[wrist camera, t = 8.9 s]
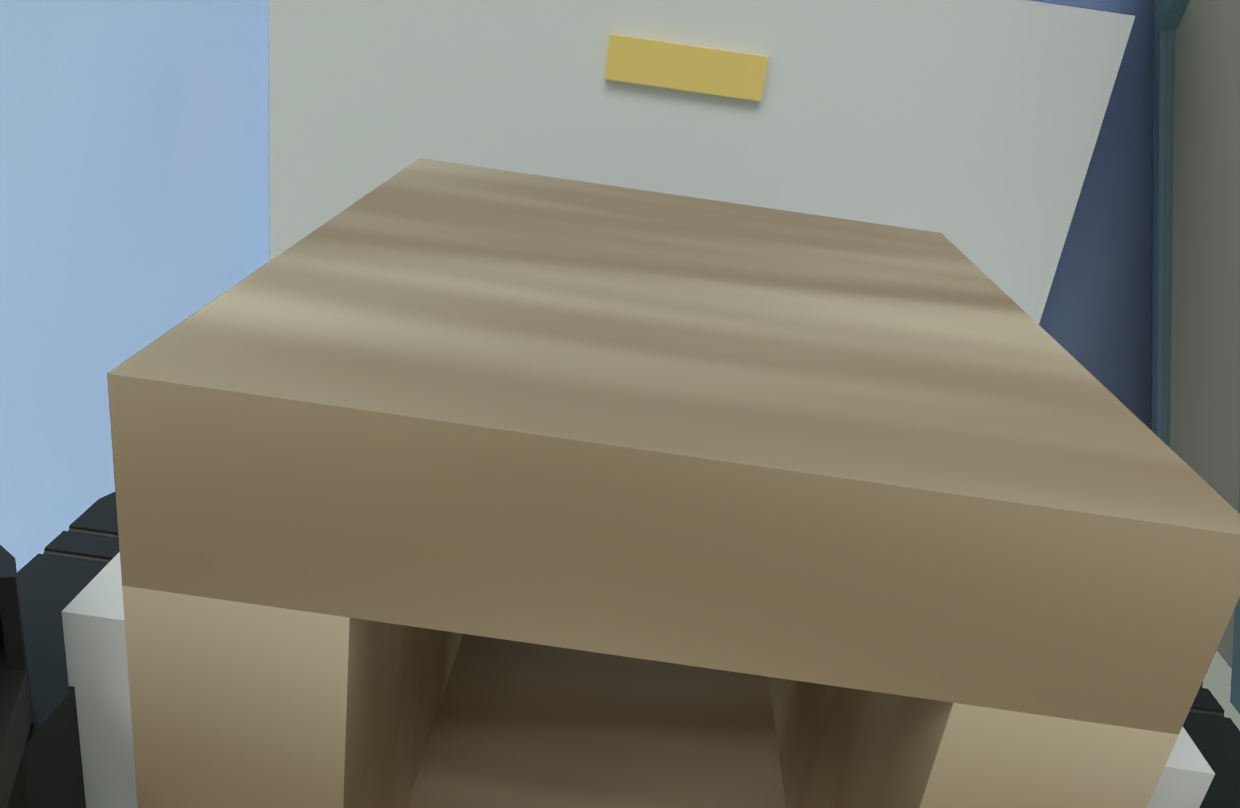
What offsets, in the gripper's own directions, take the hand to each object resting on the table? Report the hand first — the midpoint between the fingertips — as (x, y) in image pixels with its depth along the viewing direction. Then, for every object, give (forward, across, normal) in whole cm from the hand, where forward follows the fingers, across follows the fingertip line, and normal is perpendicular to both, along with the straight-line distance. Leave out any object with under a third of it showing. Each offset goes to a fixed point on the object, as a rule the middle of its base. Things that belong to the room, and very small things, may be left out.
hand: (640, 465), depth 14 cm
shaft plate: (+9, 0, 0) cm, 9 cm away
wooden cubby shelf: (+1, 0, 0) cm, 1 cm away
